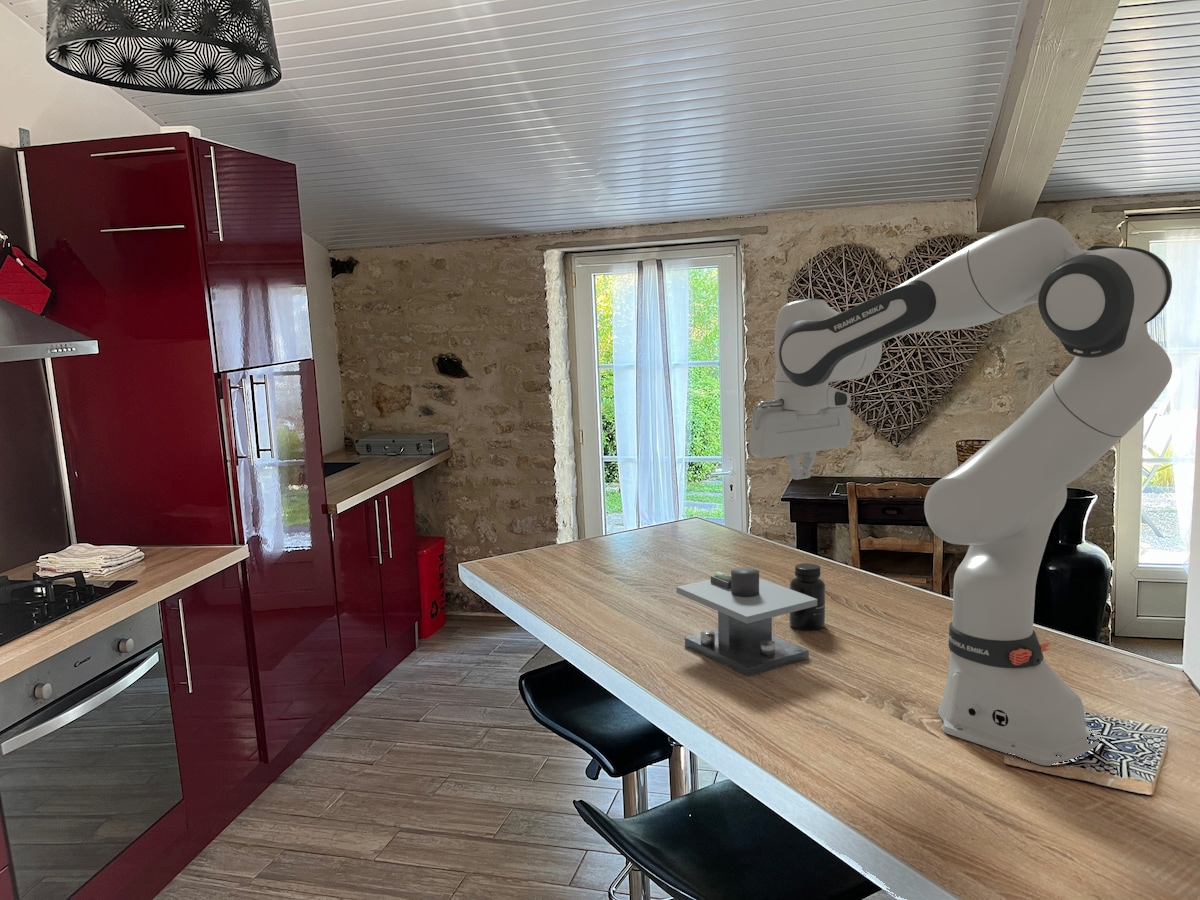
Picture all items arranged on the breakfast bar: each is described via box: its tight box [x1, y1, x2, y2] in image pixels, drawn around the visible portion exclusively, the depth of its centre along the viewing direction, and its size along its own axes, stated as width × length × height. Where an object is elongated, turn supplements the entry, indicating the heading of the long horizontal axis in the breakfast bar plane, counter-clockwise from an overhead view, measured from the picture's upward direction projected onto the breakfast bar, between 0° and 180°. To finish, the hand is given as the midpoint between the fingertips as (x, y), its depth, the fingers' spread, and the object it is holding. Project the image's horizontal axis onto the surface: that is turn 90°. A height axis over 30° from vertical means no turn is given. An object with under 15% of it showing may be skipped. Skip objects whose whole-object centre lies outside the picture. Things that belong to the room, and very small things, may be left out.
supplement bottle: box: [788, 563, 826, 631], centre depth 182 cm, size 7×7×12 cm
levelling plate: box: [676, 566, 817, 624], centre depth 168 cm, size 20×16×6 cm
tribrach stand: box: [684, 611, 810, 677], centre depth 169 cm, size 18×14×9 cm
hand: (800, 478), depth 158 cm, fingers closed
